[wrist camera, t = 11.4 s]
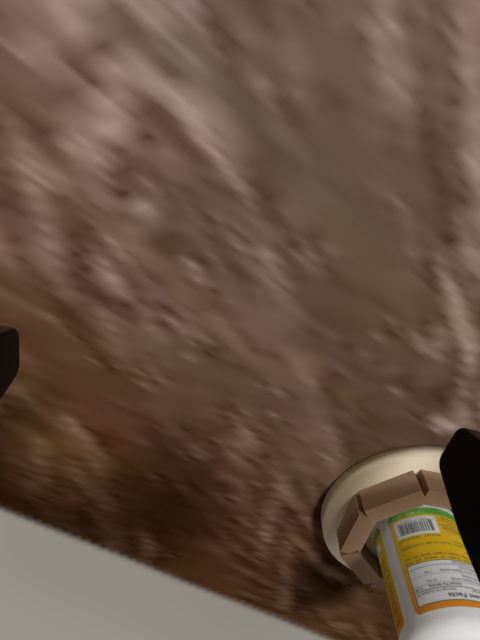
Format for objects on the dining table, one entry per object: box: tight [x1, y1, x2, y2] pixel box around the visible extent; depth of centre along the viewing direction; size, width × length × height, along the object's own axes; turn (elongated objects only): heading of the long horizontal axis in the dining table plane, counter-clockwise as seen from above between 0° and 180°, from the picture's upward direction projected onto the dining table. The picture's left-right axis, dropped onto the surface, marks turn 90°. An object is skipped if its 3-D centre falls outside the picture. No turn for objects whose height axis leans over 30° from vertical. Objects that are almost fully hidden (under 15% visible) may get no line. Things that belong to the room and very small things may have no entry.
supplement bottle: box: [373, 505, 480, 640], centre depth 24 cm, size 5×5×10 cm
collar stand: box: [321, 446, 453, 591], centre depth 28 cm, size 12×12×2 cm
